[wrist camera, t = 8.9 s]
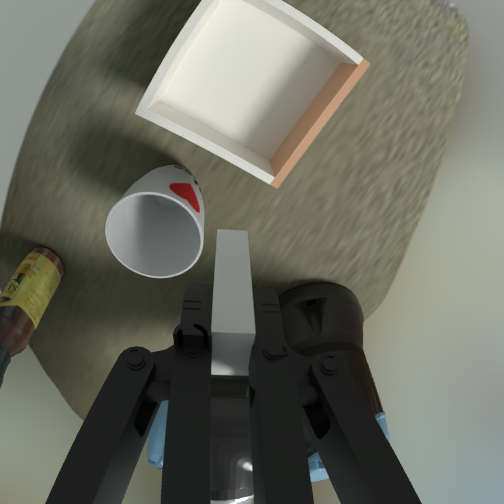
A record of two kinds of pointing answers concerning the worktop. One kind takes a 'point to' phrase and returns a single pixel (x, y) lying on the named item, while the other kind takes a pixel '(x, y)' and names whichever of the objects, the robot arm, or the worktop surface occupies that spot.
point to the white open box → (251, 83)
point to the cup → (158, 223)
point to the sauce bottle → (26, 301)
